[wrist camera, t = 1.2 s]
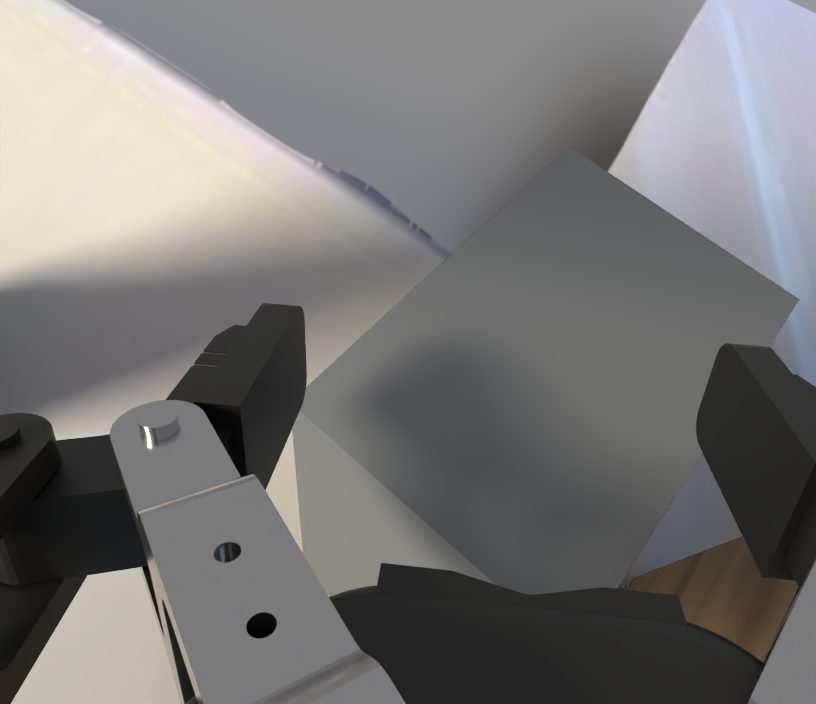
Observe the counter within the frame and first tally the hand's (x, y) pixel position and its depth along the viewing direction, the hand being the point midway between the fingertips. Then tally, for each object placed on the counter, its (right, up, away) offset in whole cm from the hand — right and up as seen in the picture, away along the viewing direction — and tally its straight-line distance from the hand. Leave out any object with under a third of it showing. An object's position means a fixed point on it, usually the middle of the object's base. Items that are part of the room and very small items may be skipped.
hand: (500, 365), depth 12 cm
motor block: (0, -10, +23) cm, 25 cm away
